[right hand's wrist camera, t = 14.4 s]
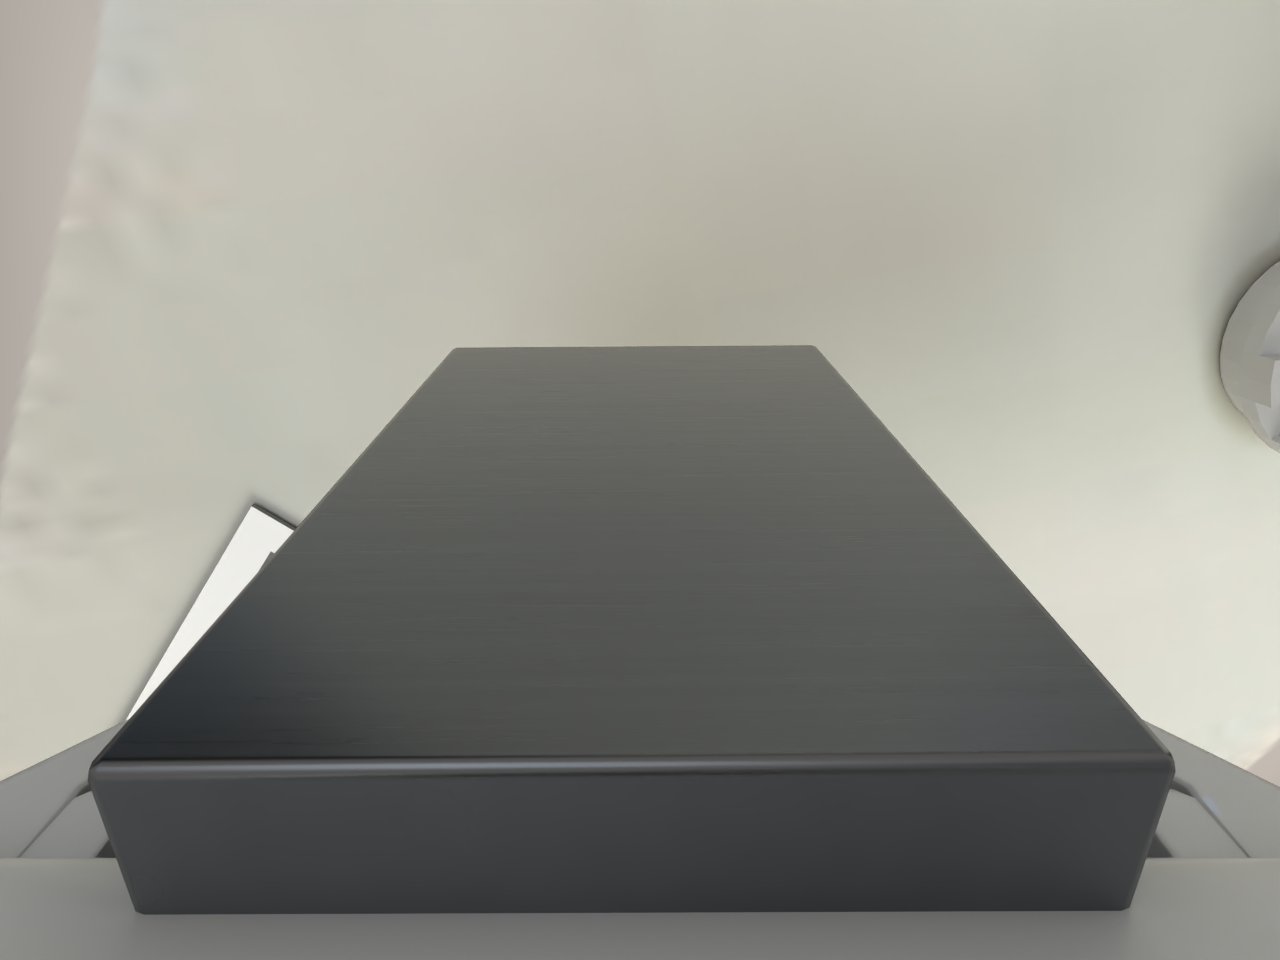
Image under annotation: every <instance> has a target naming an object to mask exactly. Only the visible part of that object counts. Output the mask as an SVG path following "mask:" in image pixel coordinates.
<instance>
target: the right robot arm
mask: <svg viewBox="0 0 1280 960" xmlns="http://www.w3.org/2000/svg"><path fill="white" fill-rule="evenodd" d="M128 720H129V719H128ZM128 720H126V721H124V722H122V723H120V724H118V725H116V726H114V727H112V728H110V729H108V730H105V731H103V732H101V733H99V734H97V735H95V736H93V737H91V738H89V739H87V740H85V741H83V742H81V743H79V744H77V745H75V746H72V747H70V748H68V749H66V750H64V751H62V752H60V753H58V754H56V755H54V756H52V757H50V758H48V759H46V760H44V761H42V762H39V763H37V764H35V765H33V766H31V767H29V768H27V769H25V770H23V771H21V772H19V773H17V774H15V775H13V776H11V777H8V778H6V779H4V780H2V781H0V960H1280V787H1279V786H1276V785H1274V784H1272V783H1270V782H1268V781H1266V780H1264V779H1262V778H1260V777H1258V776H1256V775H1254V774H1252V773H1250V772H1248V771H1246V770H1244V769H1242V768H1240V767H1238V766H1236V765H1234V764H1232V763H1230V762H1228V761H1226V760H1224V759H1221V758H1219V757H1217V756H1215V755H1213V754H1211V753H1209V752H1207V751H1205V750H1203V749H1201V748H1199V747H1197V746H1195V745H1193V744H1191V743H1189V742H1187V741H1185V740H1183V739H1181V738H1179V737H1177V736H1175V735H1173V734H1171V733H1169V732H1166V731H1164V730H1162V729H1160V728H1158V727H1156V726H1154V725H1152V724H1150V723H1148V722H1146V721H1144V720H1143V721H1144V723H1145V724H1146V725H1147V726H1148V727H1149V728H1150V729H1151V731H1152V732H1153V733H1154V734H1155V735H1156V736H1157V737H1158V739H1159V740H1160V741H1161V742H1162V743H1163V744H1164V745H1165V747H1166V748H1167V749H1168V750H1169V751H1170V752H1171V754H1172V757H1173V759H1174V762H1175V771H1176V772H1175V775H1174V778H1173V781H1172V784H1171V787H1170V790H1169V793H1168V796H1167V799H1166V802H1165V805H1164V807H1163V810H1162V813H1161V816H1160V819H1159V822H1158V825H1157V828H1156V831H1155V834H1154V837H1153V840H1152V843H1151V846H1150V849H1149V852H1148V855H1147V858H1146V861H1145V864H1144V867H1143V870H1142V873H1141V876H1140V879H1139V882H1138V885H1137V887H1136V890H1135V893H1134V896H1133V899H1132V902H1131V905H1130V907H1129V908H1127V909H1125V910H1122V911H950V912H693V913H436V914H179V915H144V914H141V913H139V912H136V911H135V909H134V906H133V903H132V901H131V898H130V895H129V892H128V890H127V887H126V884H125V881H124V879H123V876H122V873H121V870H120V868H119V865H118V862H117V859H116V857H115V854H114V851H113V849H112V846H111V843H110V840H109V838H108V835H107V832H106V829H105V827H104V824H103V821H102V818H101V816H100V813H99V810H98V807H97V805H96V802H95V799H94V796H93V794H92V791H91V788H90V785H89V783H88V771H89V768H90V766H91V763H92V761H93V760H94V759H95V758H96V757H97V755H98V754H99V753H100V752H101V751H102V750H103V749H104V747H105V746H106V745H107V744H108V743H109V742H110V741H111V739H112V738H113V737H114V736H115V735H116V734H117V733H118V731H119V730H120V729H121V728H122V727H123V726H124V725H125V723H126V722H127V721H128Z"/></svg>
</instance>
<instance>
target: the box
mask: <svg viewBox="0 0 1280 960" xmlns="http://www.w3.org/2000/svg"><path fill="white" fill-rule="evenodd" d="M1175 772H1176V771H1175V762H1174V759H1173V757H1172V754H1171V752H1170V751H1169V750H1168V749H1167V748H1166V747H1165V745H1164V744H1163V743H1162V742H1161V741H1160V740H1159V739H1158V737H1157V736H1156V735H1155V734H1154V733H1153V732H1152V731H1151V729H1150V728H1149V727H1148V726H1147V725H1146V724H1145V723H1144V721H1143V720H1142V719H1141V718H1140V717H1139V716H1138V715H1137V713H1136V712H1135V711H1134V710H1133V709H1132V708H1131V707H1130V705H1129V704H1128V703H1127V702H1126V701H1125V700H1124V699H1123V697H1122V696H1121V695H1120V694H1119V693H1118V692H1117V691H1116V689H1115V688H1114V687H1113V686H1112V685H1111V684H1110V683H1109V681H1108V680H1107V679H1106V678H1105V677H1104V676H1103V675H1102V673H1101V672H1100V671H1099V670H1098V669H1097V668H1096V667H1095V665H1094V664H1093V663H1092V662H1091V661H1090V660H1089V659H1088V657H1087V656H1086V655H1085V654H1084V653H1083V652H1082V651H1081V649H1080V648H1079V647H1078V646H1077V645H1076V644H1075V643H1074V641H1073V640H1072V639H1071V638H1070V637H1069V636H1068V635H1067V633H1066V632H1065V631H1064V630H1063V629H1062V628H1061V627H1060V625H1059V624H1058V623H1057V622H1056V621H1055V620H1054V619H1053V617H1052V616H1051V615H1050V614H1049V613H1048V612H1047V611H1046V609H1045V608H1044V607H1043V606H1042V605H1041V604H1040V603H1039V601H1038V600H1037V599H1036V598H1035V597H1034V596H1033V595H1032V593H1031V592H1030V591H1029V590H1028V589H1027V588H1026V587H1025V585H1024V584H1023V583H1022V582H1021V581H1020V580H1019V579H1018V577H1017V576H1016V575H1015V574H1014V573H1013V572H1012V571H1011V569H1010V568H1009V567H1008V566H1007V565H1006V564H1005V563H1004V561H1003V560H1002V559H1001V558H1000V557H999V556H998V555H997V553H996V552H995V551H994V550H993V549H992V548H991V547H990V545H989V544H988V543H987V542H986V541H985V540H984V539H983V537H982V536H981V535H980V534H979V533H978V532H977V531H976V529H975V528H974V527H973V526H972V525H971V524H970V523H969V521H968V520H967V519H966V518H965V517H964V516H963V515H962V513H961V512H960V511H959V510H958V509H957V508H956V507H955V505H954V504H953V503H952V502H951V501H950V500H949V499H948V498H947V496H946V495H945V494H944V493H943V492H942V491H941V490H940V488H939V487H938V486H937V485H936V484H935V483H934V482H933V480H932V479H931V478H930V477H929V476H928V475H927V474H926V472H925V471H924V470H923V469H922V468H921V467H920V466H919V464H918V463H917V462H916V461H915V460H914V459H913V458H912V456H911V455H910V454H909V453H908V452H907V451H906V450H905V448H904V447H903V446H902V445H901V444H900V443H899V442H898V440H897V439H896V438H895V437H894V436H893V435H892V434H891V432H890V431H889V430H888V429H887V428H886V427H885V426H884V424H883V423H882V422H881V421H880V420H879V419H878V418H877V416H876V415H875V414H874V413H873V412H872V411H871V410H870V408H869V407H868V406H867V405H866V404H865V403H864V402H863V400H862V399H861V398H860V397H859V396H858V395H857V394H856V392H855V391H854V390H853V389H852V388H851V387H850V386H849V384H848V383H847V382H846V381H845V380H844V379H843V378H842V376H841V375H840V374H839V373H838V372H837V371H836V370H835V368H834V367H833V366H832V365H831V364H830V363H829V362H828V360H827V359H826V358H825V357H824V356H823V355H822V354H821V352H820V351H819V350H818V349H817V348H816V347H814V346H812V345H805V346H656V347H508V348H455V349H453V350H452V351H451V352H450V354H449V355H448V356H447V357H446V358H445V359H444V360H443V362H442V363H441V364H440V365H439V366H438V367H437V368H436V370H435V371H434V372H433V373H432V374H431V375H430V376H429V378H428V379H427V380H426V381H425V382H424V383H423V384H422V386H421V387H420V388H419V389H418V390H417V391H416V392H415V394H414V395H413V396H412V397H411V398H410V399H409V400H408V401H407V403H406V404H405V405H404V406H403V407H402V408H401V409H400V411H399V412H398V413H397V414H396V415H395V416H394V417H393V419H392V420H391V421H390V422H389V423H388V424H387V425H386V427H385V428H384V429H383V430H382V431H381V432H380V433H379V435H378V436H377V437H376V438H375V439H374V440H373V441H372V443H371V444H370V445H369V446H368V447H367V448H366V449H365V451H364V452H363V453H362V454H361V455H360V456H359V457H358V459H357V460H356V461H355V462H354V463H353V464H352V465H351V467H350V468H349V469H348V470H347V471H346V472H345V473H344V475H343V476H342V477H341V478H340V479H339V480H338V481H337V483H336V484H335V485H334V486H333V487H332V488H331V489H330V491H329V492H328V493H327V494H326V495H325V496H324V497H323V499H322V500H321V501H320V502H319V503H318V504H317V505H316V507H315V508H314V509H313V510H312V511H311V512H310V513H309V515H308V516H307V517H306V518H305V519H304V520H303V521H302V523H301V524H300V525H299V526H298V527H297V528H296V529H295V531H294V532H293V533H292V534H291V535H290V536H289V537H288V538H287V540H286V541H285V542H284V543H283V544H282V545H281V546H280V548H279V549H278V550H277V551H276V552H275V553H274V554H273V556H272V557H271V558H270V559H269V560H268V561H267V562H266V564H265V565H264V566H263V567H262V568H261V569H260V570H259V572H258V573H257V574H256V575H255V576H254V577H253V578H252V580H251V581H250V582H249V583H248V584H247V585H246V586H245V588H244V589H243V590H242V591H241V592H240V593H239V594H238V596H237V597H236V598H235V599H234V600H233V601H232V602H231V604H230V605H229V606H228V607H227V608H226V609H225V610H224V612H223V613H222V614H221V615H220V616H219V617H218V618H217V620H216V621H215V622H214V623H213V624H212V625H211V626H210V628H209V629H208V630H207V631H206V632H205V633H204V634H203V636H202V637H201V638H200V639H199V640H198V641H197V642H196V644H195V645H194V646H193V647H192V648H191V649H190V650H189V652H188V653H187V654H186V655H185V656H184V657H183V658H182V660H181V661H180V662H179V663H178V664H177V665H176V666H175V668H174V669H173V670H172V671H171V672H170V673H169V674H168V676H167V677H166V678H165V679H164V680H163V681H162V682H161V683H160V685H159V686H158V687H157V688H156V689H155V690H154V691H153V693H152V694H151V695H150V696H149V697H148V698H147V699H146V701H145V702H144V703H143V704H142V705H141V706H140V707H139V709H138V710H137V711H136V712H135V713H134V714H133V715H132V717H131V718H130V719H129V720H128V721H127V722H126V723H125V725H124V726H123V727H122V728H121V729H120V730H119V731H118V733H117V734H116V735H115V736H114V737H113V738H112V739H111V741H110V742H109V743H108V744H107V745H106V746H105V747H104V749H103V750H102V751H101V752H100V753H99V754H98V755H97V757H96V758H95V759H94V760H93V761H92V763H91V766H90V768H89V771H88V783H89V785H90V788H91V791H92V794H93V796H94V799H95V802H96V805H97V807H98V810H99V813H100V816H101V818H102V821H103V824H104V827H105V829H106V832H107V835H108V838H109V840H110V843H111V846H112V849H113V851H114V854H115V857H116V859H117V862H118V865H119V868H120V870H121V873H122V876H123V879H124V881H125V884H126V887H127V890H128V892H129V895H130V898H131V901H132V903H133V906H134V909H135V911H136V912H139V913H141V914H144V915H179V914H436V913H693V912H950V911H1122V910H1125V909H1127V908H1129V907H1130V905H1131V902H1132V899H1133V896H1134V893H1135V890H1136V887H1137V885H1138V882H1139V879H1140V876H1141V873H1142V870H1143V867H1144V864H1145V861H1146V858H1147V855H1148V852H1149V849H1150V846H1151V843H1152V840H1153V837H1154V834H1155V831H1156V828H1157V825H1158V822H1159V819H1160V816H1161V813H1162V810H1163V807H1164V805H1165V802H1166V799H1167V796H1168V793H1169V790H1170V787H1171V784H1172V781H1173V778H1174V775H1175Z"/></svg>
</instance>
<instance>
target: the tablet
mask: <svg viewBox="0 0 1280 960" xmlns="http://www.w3.org/2000/svg"><path fill="white" fill-rule="evenodd" d="M295 529H296V528H295V527H293V526H291V525H290V524H288V523H286V522H284V521H283V520H281V519H279V518H278V517H276V516H274V515H272V514H271V513H269V512H267V511H266V510H264V509H262V508H261V507H259V506H257V505H255V504H253V505H252V506H251V508H250V510H249V511H248V513H247V515H246V516H245V518H244V520H243V521H242V523H241V525H240V527H239V528H238V530H237V532H236V533H235V535H234V537H233V538H232V540H231V542H230V544H229V545H228V547H227V549H226V550H225V552H224V554H223V555H222V557H221V559H220V561H219V562H218V564H217V566H216V567H215V569H214V571H213V573H212V574H211V576H210V578H209V579H208V581H207V583H206V584H205V586H204V588H203V590H202V591H201V593H200V595H199V596H198V598H197V600H196V601H195V603H194V605H193V607H192V608H191V610H190V612H189V613H188V615H187V617H186V618H185V620H184V622H183V624H182V625H181V627H180V629H179V630H178V632H177V634H176V636H175V637H174V639H173V641H172V642H171V644H170V646H169V647H168V649H167V651H166V653H165V654H164V656H163V658H162V659H161V661H160V663H159V664H158V666H157V668H156V670H155V671H154V673H153V675H152V676H151V678H150V680H149V681H148V683H147V685H146V687H145V688H144V690H143V692H142V693H141V695H140V697H139V699H138V700H137V702H136V704H135V705H134V707H133V709H132V710H131V712H130V714H129V716H128V717H127V719H126V720H128V719H130V718H131V717H132V715H133V714H134V713H135V712H136V711H137V710H138V709H139V707H140V706H141V705H142V704H143V703H144V702H145V701H146V699H147V698H148V697H149V696H150V695H151V694H152V693H153V691H154V690H155V689H156V688H157V687H158V686H159V685H160V683H161V682H162V681H163V680H164V679H165V678H166V677H167V676H168V674H169V673H170V672H171V671H172V670H173V669H174V668H175V666H176V665H177V664H178V663H179V662H180V661H181V660H182V658H183V657H184V656H185V655H186V654H187V653H188V652H189V650H190V649H191V648H192V647H193V646H194V645H195V644H196V642H197V641H198V640H199V639H200V638H201V637H202V636H203V634H204V633H205V632H206V631H207V630H208V629H209V628H210V626H211V625H212V624H213V623H214V622H215V621H216V620H217V618H218V617H219V616H220V615H221V614H222V613H223V612H224V610H225V609H226V608H227V607H228V606H229V605H230V604H231V602H232V601H233V600H234V599H235V598H236V597H237V596H238V594H239V593H240V592H241V591H242V590H243V589H244V588H245V586H246V585H247V584H248V583H249V582H250V581H251V580H252V578H253V577H254V576H255V575H256V574H257V573H258V572H259V570H260V569H261V568H262V567H263V566H264V565H265V564H266V562H267V561H268V560H269V559H270V558H271V557H272V556H273V554H274V553H275V552H276V551H277V550H278V549H279V548H280V546H281V545H282V544H283V543H284V542H285V541H286V540H287V538H288V537H289V536H290V535H291V534H292V533H293V532H294V531H295Z"/></svg>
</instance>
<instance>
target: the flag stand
mask: <svg viewBox="0 0 1280 960" xmlns="http://www.w3.org/2000/svg"><path fill="white" fill-rule="evenodd" d="M1220 372H1221V378H1222V381H1223V385H1224V388H1225V391H1226V393H1227V395H1228V396H1229V398H1230V400H1231V402H1232V403H1233V405H1234V406H1235V407H1236V408H1237V409H1238V410H1239V411H1240V412H1241V413H1242V414H1243V415H1244V416H1245V417H1246V418H1247V420H1248V422H1249V424H1250V425H1251V427H1252V429H1253V430H1254V432H1255V433H1256V434H1257V435H1258V436H1259V437H1260V438H1261V439H1262V440H1263V441H1264V442H1265V443H1266V444H1267V445H1268V446H1269V447H1270V448H1272V449H1274V450H1276V451H1277V452H1279V453H1280V261H1279V262H1277V263H1276V264H1274V265H1273V266H1271V267H1270V268H1269V269H1268V270H1267V271H1266V272H1265V273H1264V274H1263V275H1262V276H1261V277H1260V278H1259V279H1257V280H1256V281H1255V282H1254V283H1253V285H1252V286H1251V287H1250V288H1249V290H1248V291H1247V292H1246V294H1245V295H1244V296H1243V297H1242V299H1241V300H1240V301H1239V303H1238V305H1237V307H1236V309H1235V310H1234V312H1233V314H1232V316H1231V318H1230V319H1229V322H1228V325H1227V328H1226V331H1225V333H1224V336H1223V340H1222V346H1221V352H1220Z"/></svg>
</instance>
